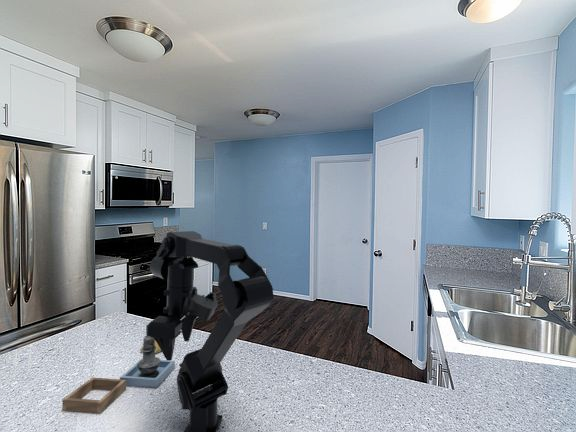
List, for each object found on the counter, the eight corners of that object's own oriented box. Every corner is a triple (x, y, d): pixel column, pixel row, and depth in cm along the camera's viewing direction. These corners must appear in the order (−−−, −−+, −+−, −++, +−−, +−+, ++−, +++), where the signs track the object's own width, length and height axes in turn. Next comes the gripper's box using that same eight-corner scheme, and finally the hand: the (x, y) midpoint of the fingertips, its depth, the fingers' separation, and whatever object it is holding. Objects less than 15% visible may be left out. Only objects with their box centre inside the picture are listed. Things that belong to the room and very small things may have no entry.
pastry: (154, 341, 106) (154, 330, 105) (172, 342, 105) (172, 332, 105) (138, 354, 96) (138, 342, 96) (158, 355, 96) (158, 343, 95)
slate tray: (156, 388, 78) (156, 380, 78) (119, 385, 79) (119, 377, 79) (174, 368, 88) (174, 360, 88) (141, 366, 89) (141, 358, 89)
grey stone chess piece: (143, 383, 79) (143, 338, 79) (132, 375, 82) (133, 332, 82) (164, 374, 83) (165, 331, 83) (153, 367, 87) (154, 325, 87)
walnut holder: (100, 413, 68) (100, 402, 68) (62, 410, 69) (62, 399, 69) (126, 389, 77) (126, 379, 77) (92, 387, 78) (92, 377, 78)
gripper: (198, 300, 61) (195, 375, 61) (225, 277, 79) (223, 335, 80) (145, 296, 62) (143, 370, 62) (184, 274, 80) (183, 332, 81)
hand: (178, 349), depth 71 cm, fingers open, 9 cm apart
